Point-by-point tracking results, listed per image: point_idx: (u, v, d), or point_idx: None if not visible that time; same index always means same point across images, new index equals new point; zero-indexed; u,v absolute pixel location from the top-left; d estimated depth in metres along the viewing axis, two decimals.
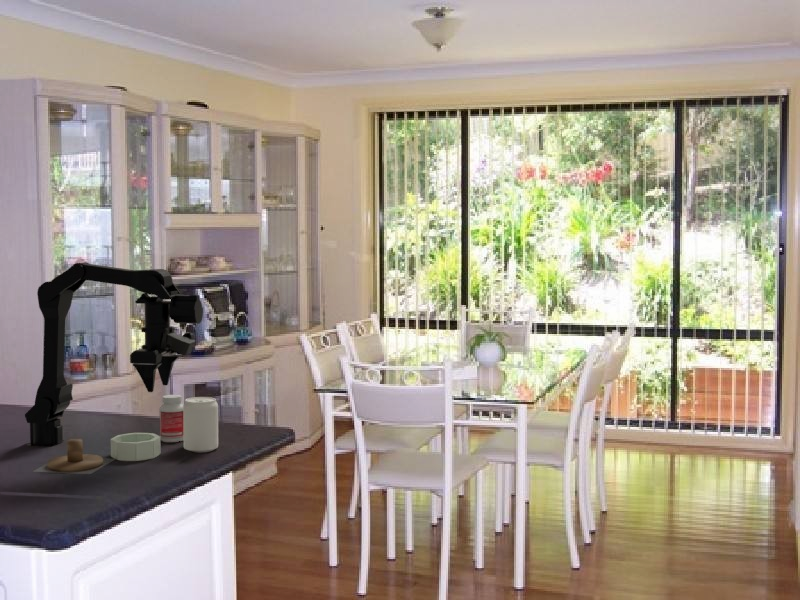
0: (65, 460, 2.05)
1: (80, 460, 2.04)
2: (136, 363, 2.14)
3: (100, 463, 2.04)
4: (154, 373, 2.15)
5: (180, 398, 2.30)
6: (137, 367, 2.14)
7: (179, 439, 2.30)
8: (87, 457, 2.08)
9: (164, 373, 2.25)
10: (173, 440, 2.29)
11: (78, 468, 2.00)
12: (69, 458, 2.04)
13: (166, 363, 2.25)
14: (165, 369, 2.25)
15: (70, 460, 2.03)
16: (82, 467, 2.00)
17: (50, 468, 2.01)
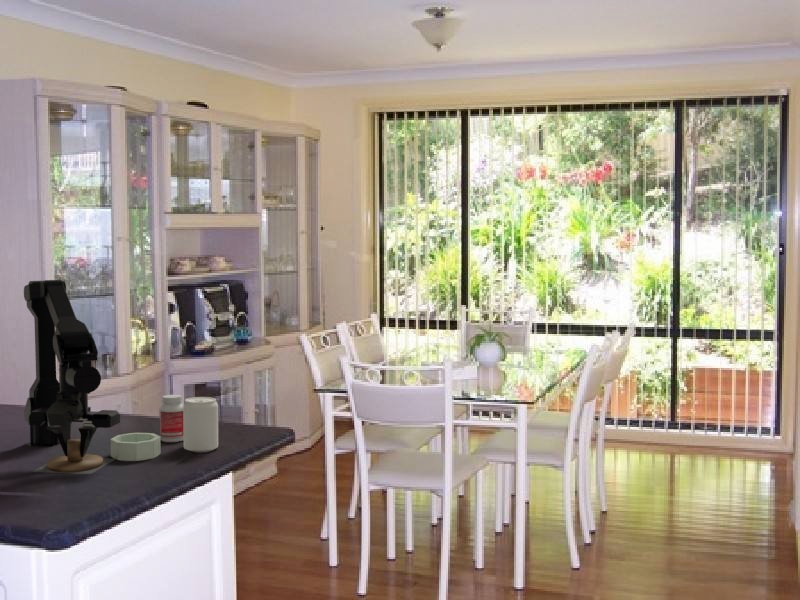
0: (65, 460, 2.05)
1: (80, 460, 2.04)
2: None
3: (100, 463, 2.04)
4: (59, 437, 2.04)
5: (180, 398, 2.30)
6: None
7: (179, 439, 2.30)
8: (87, 457, 2.08)
9: None
10: (173, 440, 2.29)
11: (78, 468, 2.00)
12: (69, 458, 2.04)
13: None
14: None
15: (70, 460, 2.03)
16: (82, 467, 2.00)
17: (50, 468, 2.01)
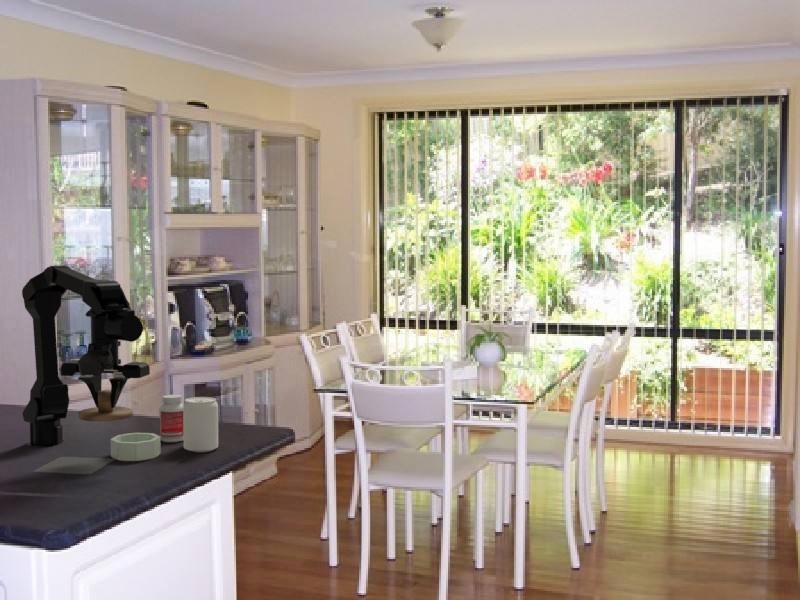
0: (96, 411, 2.09)
1: (110, 411, 2.08)
2: None
3: (130, 414, 2.08)
4: (90, 387, 2.07)
5: (180, 398, 2.30)
6: None
7: (179, 439, 2.30)
8: (117, 409, 2.12)
9: None
10: (173, 440, 2.29)
11: (108, 417, 2.03)
12: (100, 408, 2.07)
13: None
14: None
15: (101, 410, 2.07)
16: (112, 417, 2.04)
17: (81, 418, 2.04)
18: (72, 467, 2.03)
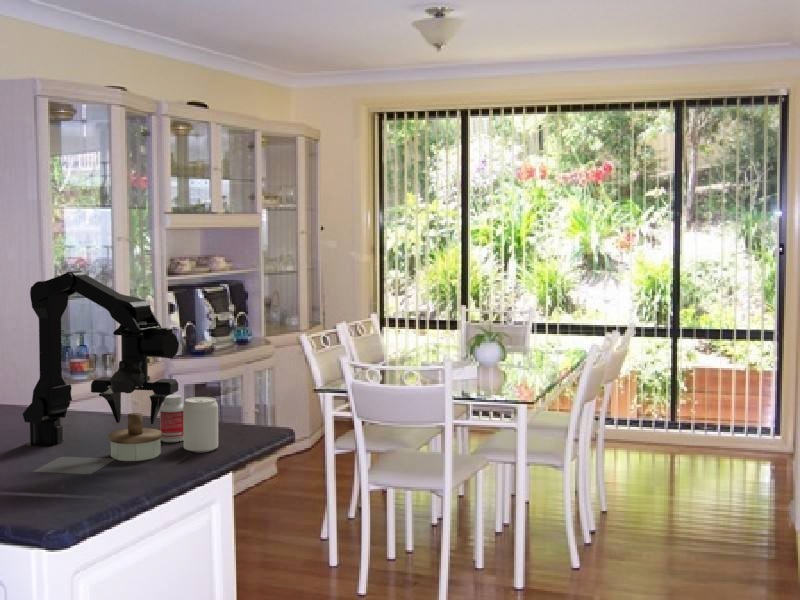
0: (126, 433, 2.14)
1: (140, 433, 2.13)
2: None
3: (159, 436, 2.13)
4: (111, 404, 2.13)
5: (180, 398, 2.30)
6: None
7: (179, 439, 2.30)
8: (146, 430, 2.17)
9: None
10: (173, 440, 2.29)
11: (140, 440, 2.09)
12: (130, 431, 2.12)
13: None
14: None
15: (131, 433, 2.12)
16: (143, 439, 2.09)
17: (113, 440, 2.10)
18: (72, 467, 2.03)
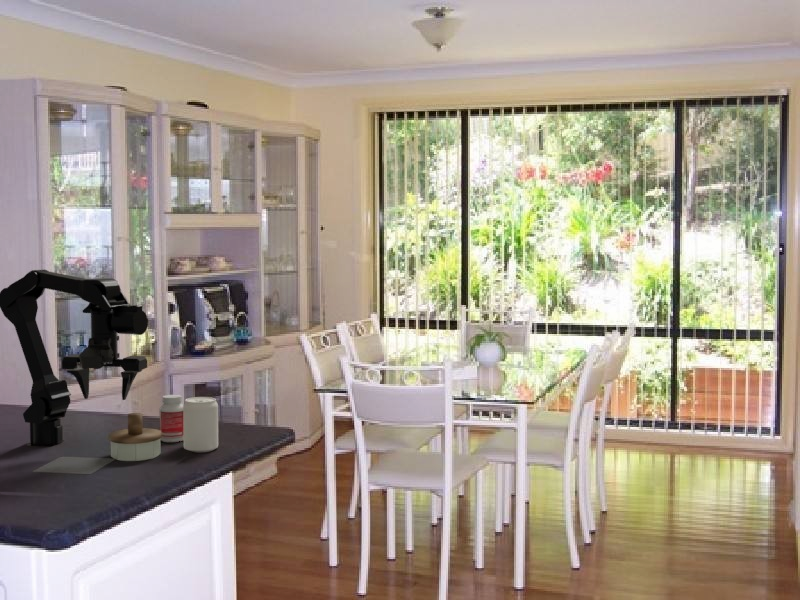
0: (126, 433, 2.14)
1: (140, 433, 2.13)
2: None
3: (159, 436, 2.13)
4: (79, 380, 2.17)
5: (180, 398, 2.30)
6: None
7: (179, 439, 2.30)
8: (146, 430, 2.17)
9: None
10: (173, 440, 2.29)
11: (140, 440, 2.09)
12: (130, 431, 2.12)
13: None
14: None
15: (131, 433, 2.12)
16: (143, 439, 2.09)
17: (113, 440, 2.10)
18: (72, 467, 2.03)
